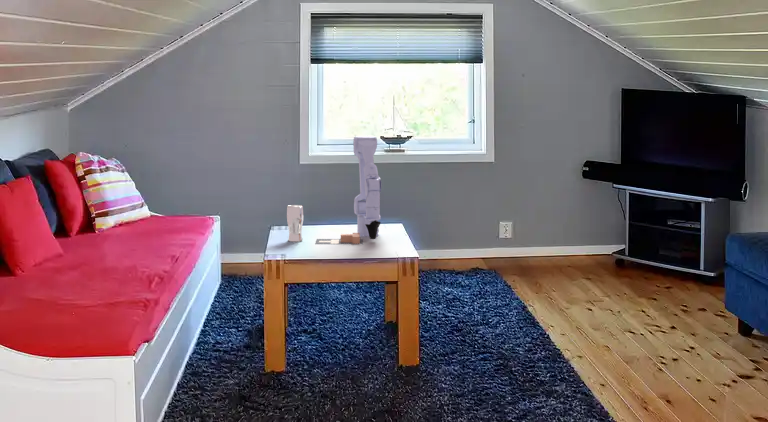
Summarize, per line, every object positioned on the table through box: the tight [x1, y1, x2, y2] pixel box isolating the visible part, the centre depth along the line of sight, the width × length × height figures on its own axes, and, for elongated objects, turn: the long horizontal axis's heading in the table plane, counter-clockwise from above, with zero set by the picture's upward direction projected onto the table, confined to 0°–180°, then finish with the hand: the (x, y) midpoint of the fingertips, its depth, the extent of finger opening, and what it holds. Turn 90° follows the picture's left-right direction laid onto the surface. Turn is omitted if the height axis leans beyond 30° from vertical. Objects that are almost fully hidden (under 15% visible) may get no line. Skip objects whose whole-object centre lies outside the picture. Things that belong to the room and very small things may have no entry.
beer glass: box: [286, 204, 304, 243], centre depth 318 cm, size 7×7×15 cm
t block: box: [340, 232, 361, 245], centre depth 315 cm, size 8×9×3 cm
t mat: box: [314, 238, 364, 245], centre depth 315 cm, size 20×12×1 cm, turn 92°
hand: (372, 238), depth 316 cm, fingers closed
